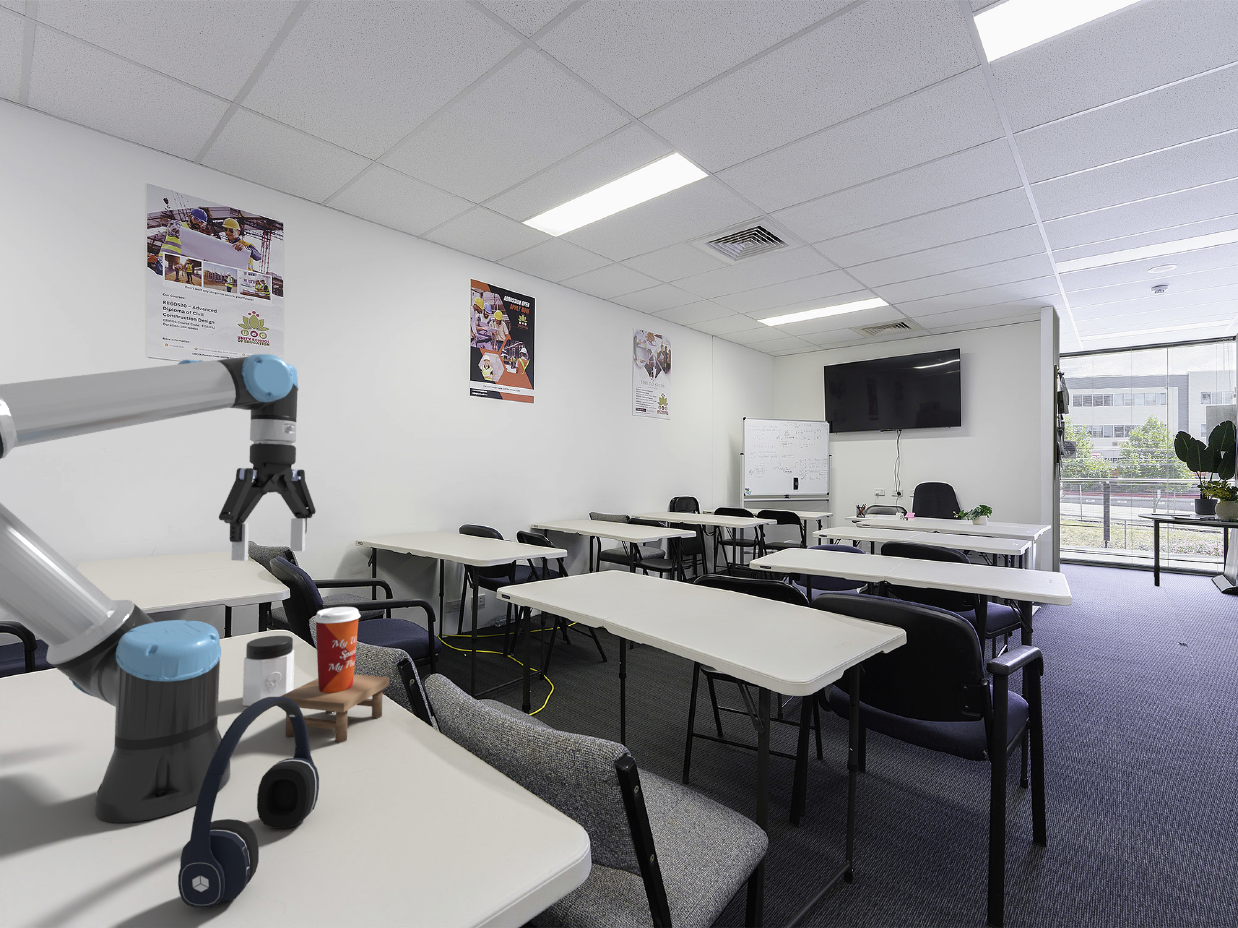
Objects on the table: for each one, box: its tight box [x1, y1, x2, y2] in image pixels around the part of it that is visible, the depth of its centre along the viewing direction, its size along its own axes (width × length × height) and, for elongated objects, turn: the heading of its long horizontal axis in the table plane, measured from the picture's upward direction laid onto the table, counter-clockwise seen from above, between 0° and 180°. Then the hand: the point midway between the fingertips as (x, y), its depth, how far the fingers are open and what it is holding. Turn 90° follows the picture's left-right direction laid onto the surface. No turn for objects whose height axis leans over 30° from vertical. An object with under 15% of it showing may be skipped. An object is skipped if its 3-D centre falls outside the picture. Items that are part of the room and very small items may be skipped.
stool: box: [280, 673, 390, 744], centre depth 103 cm, size 13×13×7 cm
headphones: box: [177, 697, 320, 909], centre depth 67 cm, size 20×7×18 cm, turn 2°
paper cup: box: [313, 606, 361, 693], centre depth 103 cm, size 8×8×14 cm
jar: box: [242, 635, 295, 707], centre depth 115 cm, size 9×8×12 cm
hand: (270, 555), depth 106 cm, fingers open, 13 cm apart
